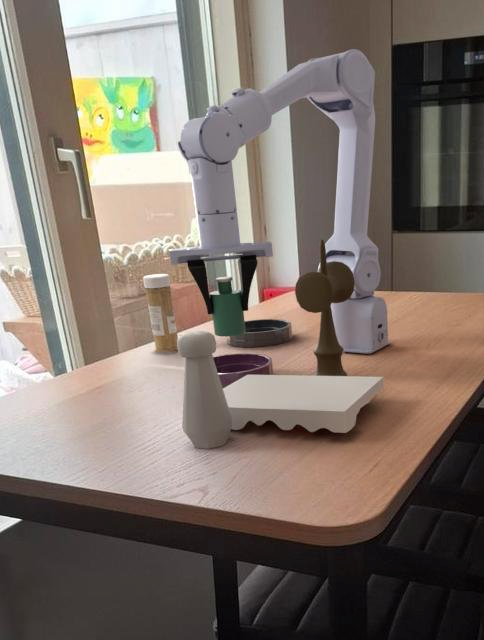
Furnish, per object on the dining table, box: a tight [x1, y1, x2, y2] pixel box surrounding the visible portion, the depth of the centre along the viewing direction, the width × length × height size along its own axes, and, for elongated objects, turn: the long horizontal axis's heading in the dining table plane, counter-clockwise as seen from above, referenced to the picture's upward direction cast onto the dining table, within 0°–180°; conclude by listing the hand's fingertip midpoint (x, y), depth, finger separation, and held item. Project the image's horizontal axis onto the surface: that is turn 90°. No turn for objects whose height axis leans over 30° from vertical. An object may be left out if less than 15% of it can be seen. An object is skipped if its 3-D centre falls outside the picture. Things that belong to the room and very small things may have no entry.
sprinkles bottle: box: [142, 273, 179, 353], centre depth 125 cm, size 5×5×13 cm
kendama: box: [294, 239, 355, 376], centre depth 99 cm, size 6×10×20 cm, turn 160°
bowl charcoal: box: [226, 318, 293, 348], centre depth 130 cm, size 12×12×3 cm
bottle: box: [209, 276, 246, 337], centre depth 103 cm, size 5×5×8 cm
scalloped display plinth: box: [223, 374, 384, 434], centre depth 90 cm, size 15×3×20 cm
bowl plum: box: [213, 352, 274, 388], centre depth 105 cm, size 12×12×3 cm
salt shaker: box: [177, 330, 232, 450], centre depth 80 cm, size 6×6×13 cm
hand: (228, 311), depth 103 cm, fingers closed on bottle, 4 cm apart
